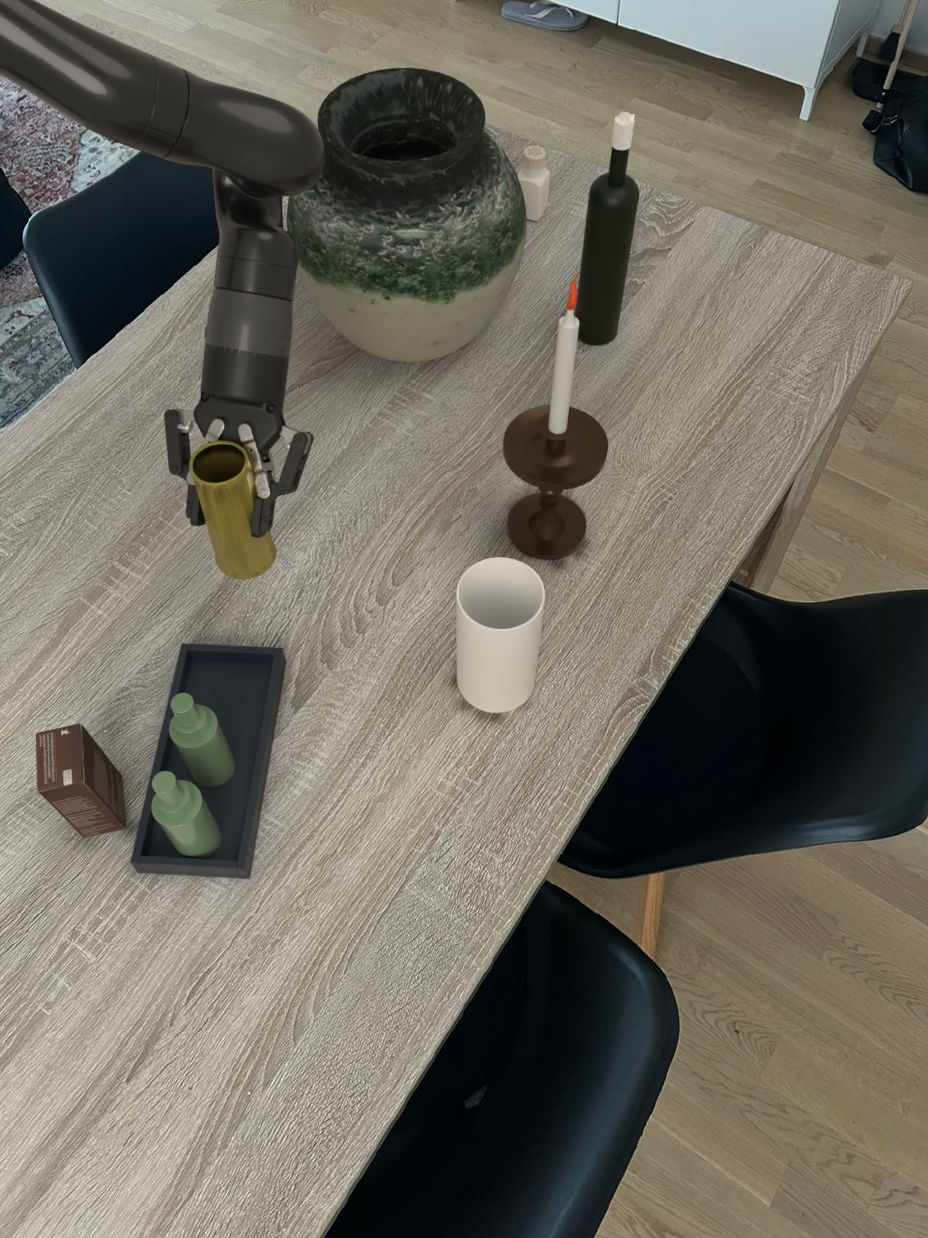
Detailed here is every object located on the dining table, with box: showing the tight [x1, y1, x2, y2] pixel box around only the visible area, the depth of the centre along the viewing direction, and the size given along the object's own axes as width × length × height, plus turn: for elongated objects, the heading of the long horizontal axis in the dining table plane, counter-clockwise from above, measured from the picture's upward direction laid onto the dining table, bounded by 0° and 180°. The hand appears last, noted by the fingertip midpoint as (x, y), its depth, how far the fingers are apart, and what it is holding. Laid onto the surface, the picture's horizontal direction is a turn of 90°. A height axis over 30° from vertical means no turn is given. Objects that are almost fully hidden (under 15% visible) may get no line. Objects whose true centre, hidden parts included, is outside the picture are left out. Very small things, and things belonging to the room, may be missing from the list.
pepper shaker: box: [517, 144, 551, 222], centre depth 146 cm, size 4×4×10 cm
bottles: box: [151, 693, 235, 859], centre depth 95 cm, size 4×12×14 cm, turn 177°
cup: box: [455, 556, 546, 714], centre depth 102 cm, size 8×8×16 cm
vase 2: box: [286, 67, 528, 363], centre depth 124 cm, size 28×28×30 cm
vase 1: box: [189, 441, 278, 580], centre depth 98 cm, size 6×6×14 cm
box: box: [35, 722, 126, 839], centre depth 96 cm, size 6×4×12 cm
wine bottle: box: [574, 110, 640, 346], centre depth 124 cm, size 6×6×30 cm
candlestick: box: [502, 276, 609, 561], centre depth 105 cm, size 11×11×35 cm
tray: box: [129, 642, 287, 880], centre depth 103 cm, size 11×24×3 cm, turn 177°
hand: (227, 529), depth 98 cm, fingers closed on vase 1, 5 cm apart
